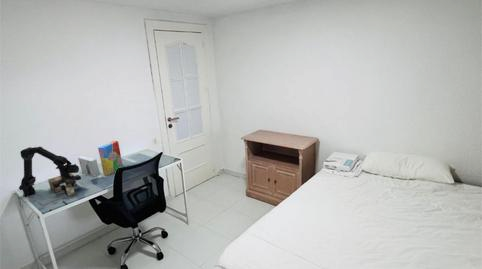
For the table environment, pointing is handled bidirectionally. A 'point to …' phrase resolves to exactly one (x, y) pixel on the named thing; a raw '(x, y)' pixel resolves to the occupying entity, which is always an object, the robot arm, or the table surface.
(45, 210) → the table surface
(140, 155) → the table surface
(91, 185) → the table surface
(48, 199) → the pad
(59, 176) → the brown storage crate
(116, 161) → the game box
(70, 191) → the block
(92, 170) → the skincare box
